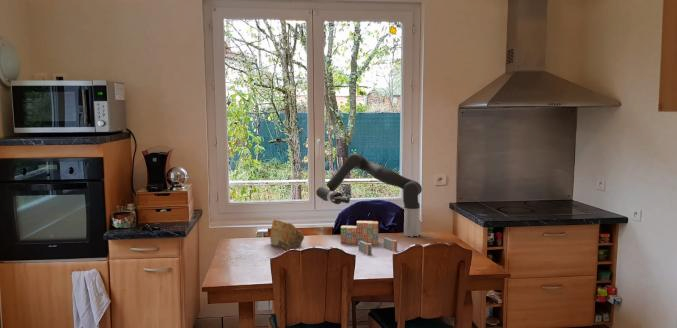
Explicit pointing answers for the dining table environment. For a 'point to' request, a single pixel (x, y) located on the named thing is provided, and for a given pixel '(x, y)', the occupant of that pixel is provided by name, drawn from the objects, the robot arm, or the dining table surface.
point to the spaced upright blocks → (367, 247)
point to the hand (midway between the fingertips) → (347, 201)
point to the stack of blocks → (360, 232)
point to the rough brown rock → (285, 235)
